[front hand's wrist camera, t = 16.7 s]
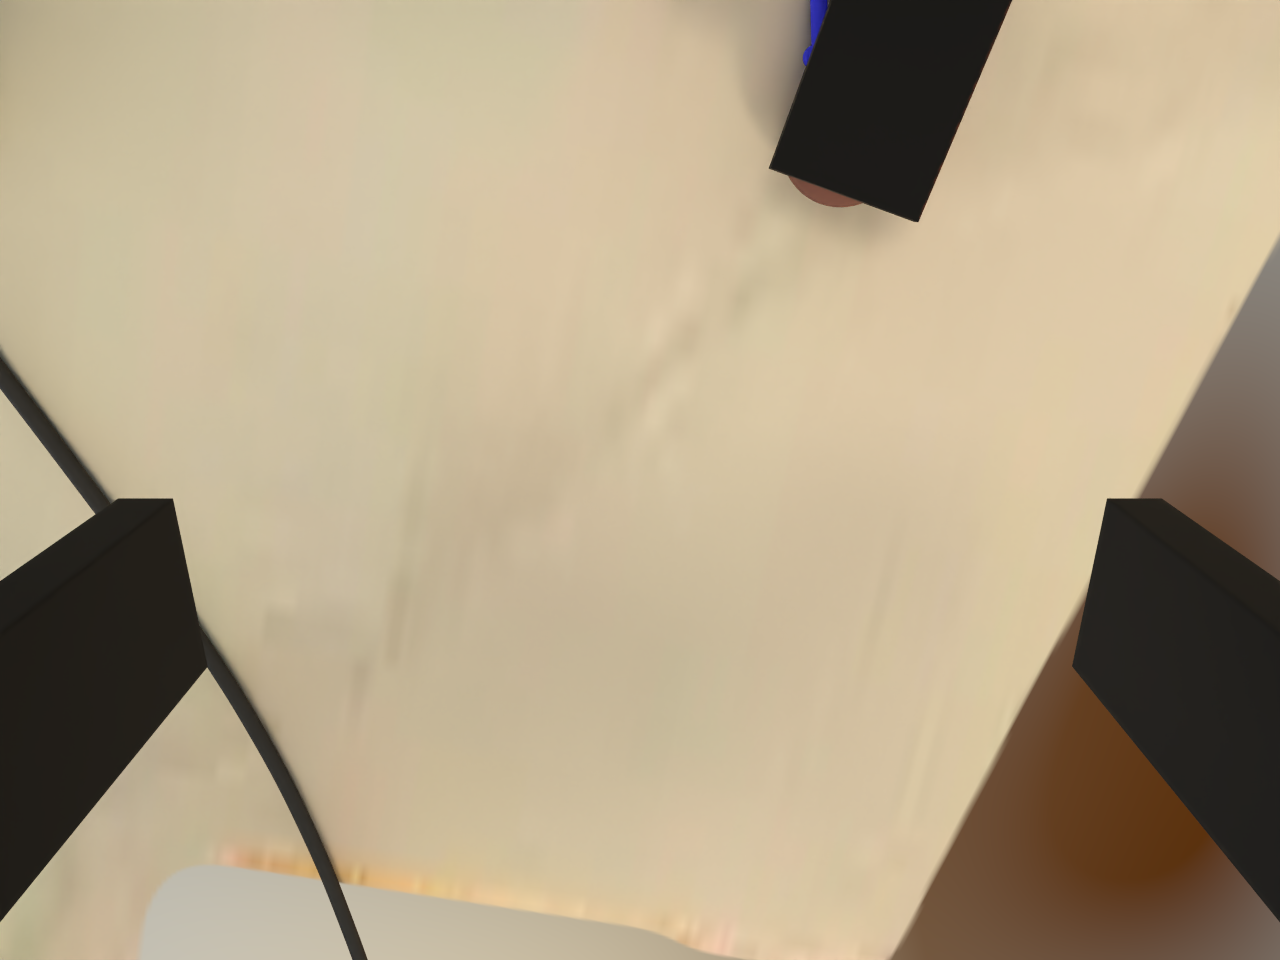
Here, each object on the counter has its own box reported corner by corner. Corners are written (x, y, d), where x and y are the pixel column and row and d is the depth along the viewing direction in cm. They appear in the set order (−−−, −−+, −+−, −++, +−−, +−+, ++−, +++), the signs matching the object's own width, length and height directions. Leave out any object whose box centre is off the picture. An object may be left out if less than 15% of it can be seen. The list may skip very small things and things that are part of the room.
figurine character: (860, -194, 35) (737, 181, 39) (926, -308, 28) (767, 168, 32) (1012, -134, 36) (878, 229, 40) (1115, -229, 29) (939, 227, 32)
